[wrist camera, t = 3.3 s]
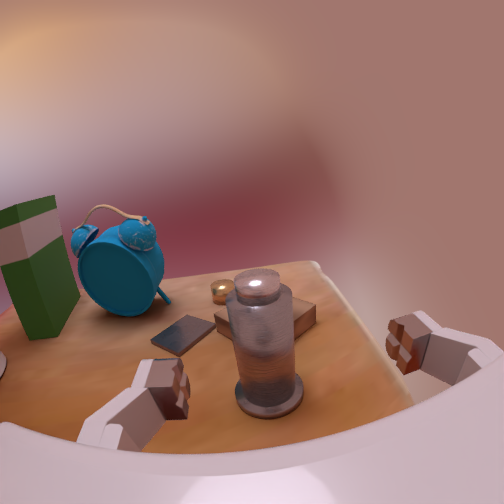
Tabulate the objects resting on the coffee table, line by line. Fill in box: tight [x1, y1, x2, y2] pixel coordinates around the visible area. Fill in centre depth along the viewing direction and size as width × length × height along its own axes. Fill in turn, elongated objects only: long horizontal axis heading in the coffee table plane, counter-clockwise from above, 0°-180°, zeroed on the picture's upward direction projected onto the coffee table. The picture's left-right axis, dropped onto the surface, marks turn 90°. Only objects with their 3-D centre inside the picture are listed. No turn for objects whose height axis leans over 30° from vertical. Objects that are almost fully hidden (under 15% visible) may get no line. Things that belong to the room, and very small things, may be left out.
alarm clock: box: [71, 205, 171, 316], centre depth 43 cm, size 17×10×20 cm, turn 87°
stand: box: [214, 297, 316, 340], centre depth 37 cm, size 10×10×3 cm
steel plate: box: [151, 315, 216, 357], centre depth 38 cm, size 8×6×1 cm
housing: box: [225, 269, 303, 419], centre depth 24 cm, size 7×7×14 cm
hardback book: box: [0, 195, 80, 340], centre depth 41 cm, size 18×7×24 cm, turn 17°
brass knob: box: [211, 279, 234, 305], centre depth 47 cm, size 4×4×3 cm
